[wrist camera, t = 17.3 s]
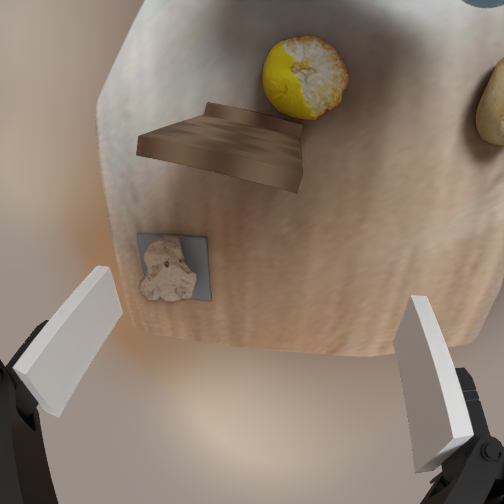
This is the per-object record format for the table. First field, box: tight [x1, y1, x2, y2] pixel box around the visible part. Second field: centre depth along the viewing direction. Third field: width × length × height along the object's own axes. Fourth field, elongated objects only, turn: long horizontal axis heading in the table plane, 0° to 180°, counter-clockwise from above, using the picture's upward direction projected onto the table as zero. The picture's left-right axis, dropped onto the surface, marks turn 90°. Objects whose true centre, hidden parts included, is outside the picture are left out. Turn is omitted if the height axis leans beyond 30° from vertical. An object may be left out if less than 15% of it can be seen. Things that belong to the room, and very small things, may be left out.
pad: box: [137, 233, 212, 301], centre depth 52 cm, size 12×12×1 cm
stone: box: [139, 236, 197, 302], centre depth 49 cm, size 9×11×5 cm
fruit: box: [262, 35, 349, 120], centre depth 33 cm, size 11×10×8 cm
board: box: [136, 102, 304, 193], centre depth 31 cm, size 13×5×20 cm, turn 77°
